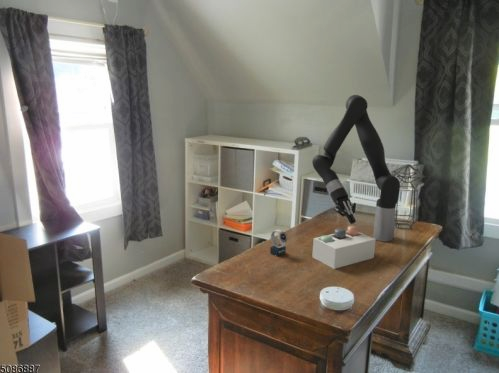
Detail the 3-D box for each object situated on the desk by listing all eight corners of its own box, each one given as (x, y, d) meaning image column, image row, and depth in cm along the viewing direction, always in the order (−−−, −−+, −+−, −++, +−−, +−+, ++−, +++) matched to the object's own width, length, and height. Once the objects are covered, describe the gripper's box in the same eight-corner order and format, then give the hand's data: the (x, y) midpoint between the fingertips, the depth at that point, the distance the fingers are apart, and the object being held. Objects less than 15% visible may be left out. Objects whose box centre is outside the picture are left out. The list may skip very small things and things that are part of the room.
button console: (351, 247, 198) (352, 229, 195) (373, 257, 186) (375, 239, 184) (312, 257, 185) (313, 238, 183) (333, 268, 174) (335, 248, 172)
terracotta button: (352, 233, 194) (353, 225, 193) (360, 236, 190) (361, 228, 189) (344, 234, 191) (345, 226, 190) (352, 238, 187) (353, 229, 186)
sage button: (326, 243, 186) (327, 234, 185) (334, 246, 182) (334, 238, 181) (317, 245, 183) (318, 236, 182) (325, 248, 179) (326, 240, 178)
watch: (280, 257, 184) (281, 234, 181) (267, 252, 190) (268, 229, 187) (288, 254, 188) (289, 231, 185) (275, 249, 193) (276, 226, 191)
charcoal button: (339, 235, 190) (340, 227, 189) (347, 239, 185) (348, 231, 184) (331, 237, 187) (332, 229, 186) (339, 241, 183) (340, 232, 182)
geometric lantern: (389, 229, 224) (394, 165, 217) (386, 221, 239) (391, 161, 232) (420, 231, 221) (426, 167, 214) (415, 223, 236) (421, 162, 229)
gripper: (330, 188, 190) (347, 221, 183) (351, 185, 197) (368, 217, 189) (322, 196, 195) (338, 229, 188) (342, 193, 202) (359, 224, 195)
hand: (353, 222), depth 189 cm, fingers closed
